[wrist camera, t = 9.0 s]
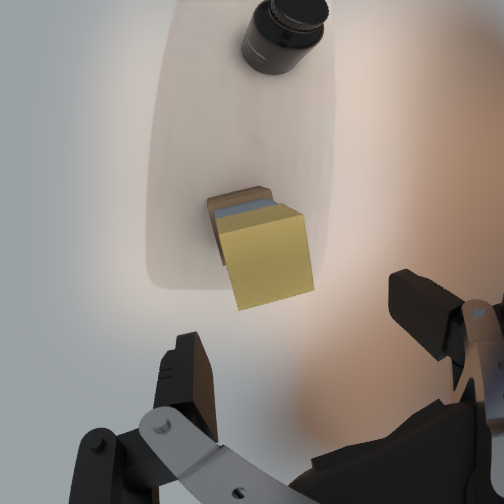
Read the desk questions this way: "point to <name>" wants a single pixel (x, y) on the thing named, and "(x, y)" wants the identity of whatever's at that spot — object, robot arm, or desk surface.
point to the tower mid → (243, 208)
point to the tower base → (234, 199)
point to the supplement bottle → (283, 33)
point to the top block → (266, 254)
